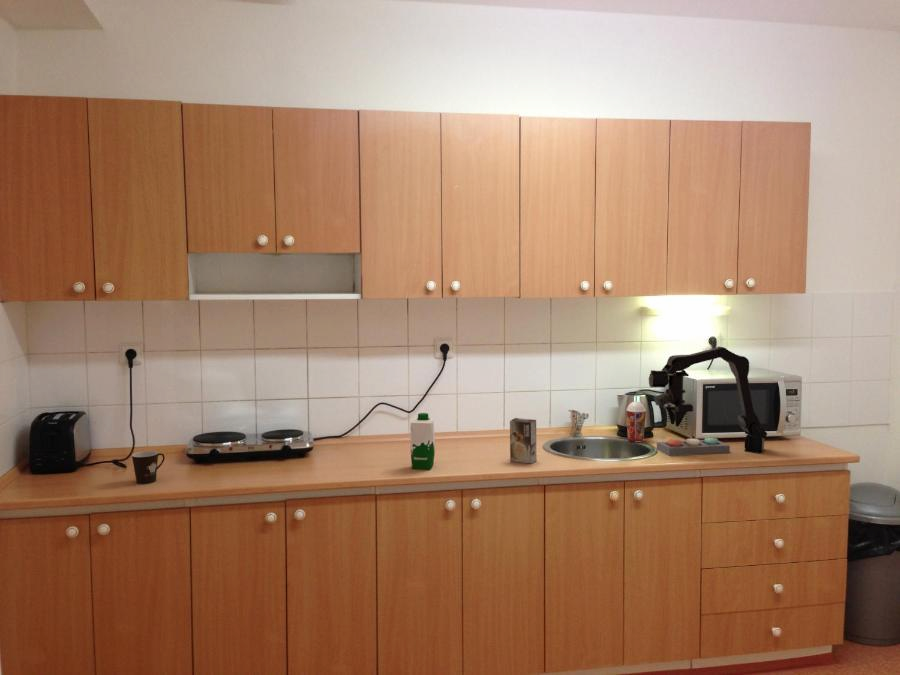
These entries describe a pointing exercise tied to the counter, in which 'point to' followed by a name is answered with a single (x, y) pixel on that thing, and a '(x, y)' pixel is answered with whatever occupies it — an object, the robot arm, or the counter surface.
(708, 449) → the button panel
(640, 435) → the smoothie
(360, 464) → the counter surface
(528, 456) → the coffee box
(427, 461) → the milk carton
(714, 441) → the teal button
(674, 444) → the red button
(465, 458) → the counter surface
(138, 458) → the coffee mug
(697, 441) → the cream button
